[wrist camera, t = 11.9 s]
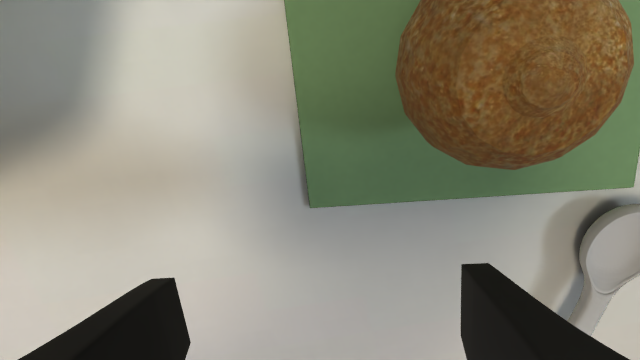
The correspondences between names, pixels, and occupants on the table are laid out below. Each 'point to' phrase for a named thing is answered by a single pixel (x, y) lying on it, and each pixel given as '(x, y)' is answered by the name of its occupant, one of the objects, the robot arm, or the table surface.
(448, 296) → the table surface
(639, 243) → the spoon
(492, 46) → the fruit
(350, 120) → the cloth
